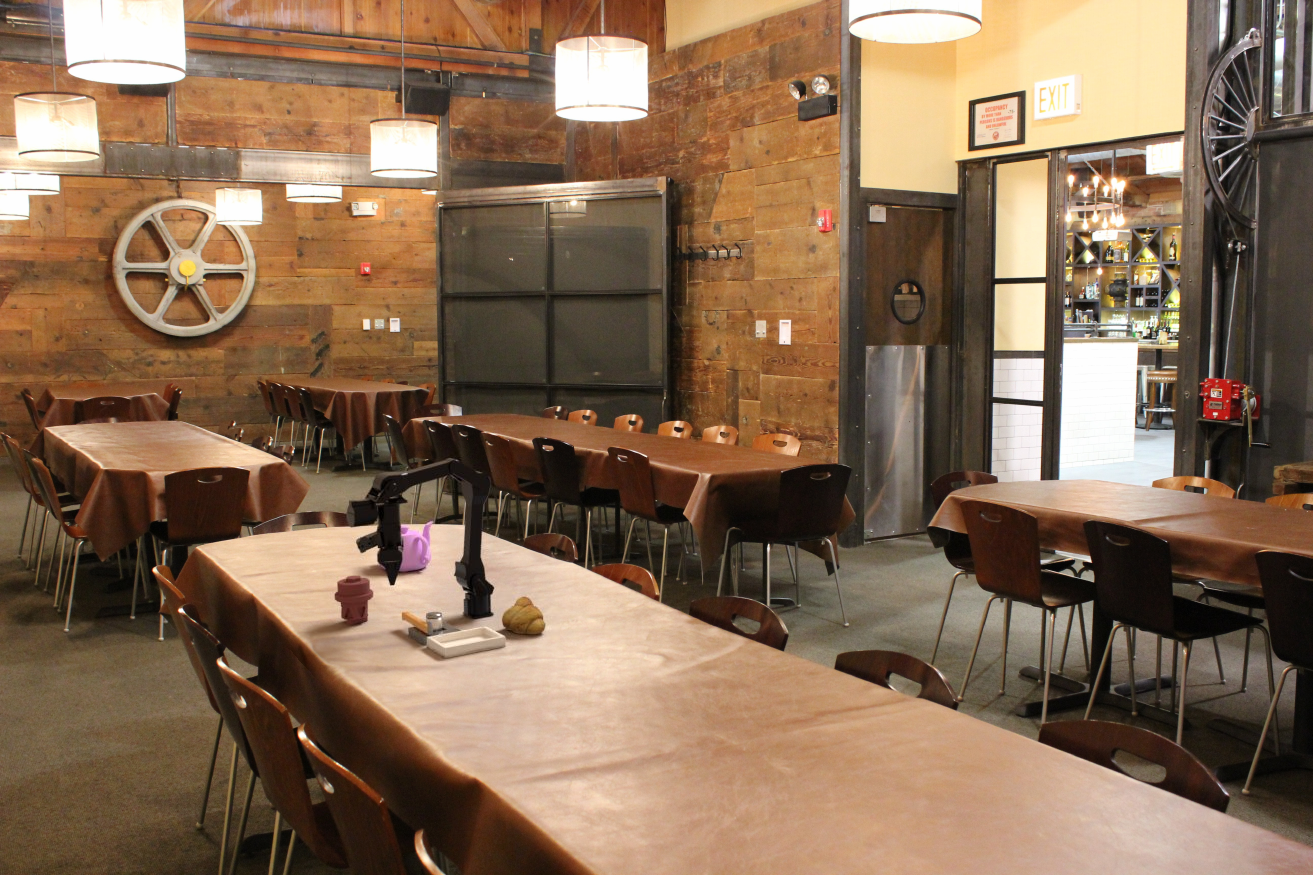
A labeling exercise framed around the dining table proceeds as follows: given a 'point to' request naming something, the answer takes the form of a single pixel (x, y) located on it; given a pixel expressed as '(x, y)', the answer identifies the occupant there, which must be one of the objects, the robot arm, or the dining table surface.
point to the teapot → (415, 548)
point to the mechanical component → (354, 598)
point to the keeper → (418, 623)
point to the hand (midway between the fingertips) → (392, 580)
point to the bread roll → (524, 618)
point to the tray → (465, 642)
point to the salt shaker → (435, 620)
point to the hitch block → (422, 636)
